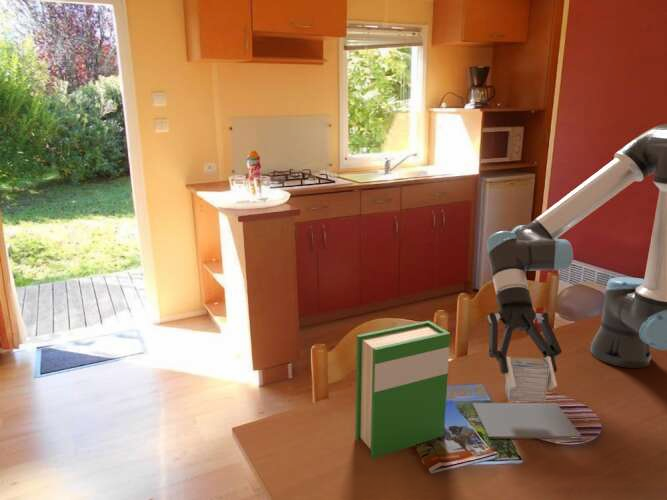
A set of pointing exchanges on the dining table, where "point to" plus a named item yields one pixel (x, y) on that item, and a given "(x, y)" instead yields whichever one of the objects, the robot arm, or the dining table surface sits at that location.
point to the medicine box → (528, 380)
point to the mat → (525, 420)
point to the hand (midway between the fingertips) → (532, 387)
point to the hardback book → (401, 386)
